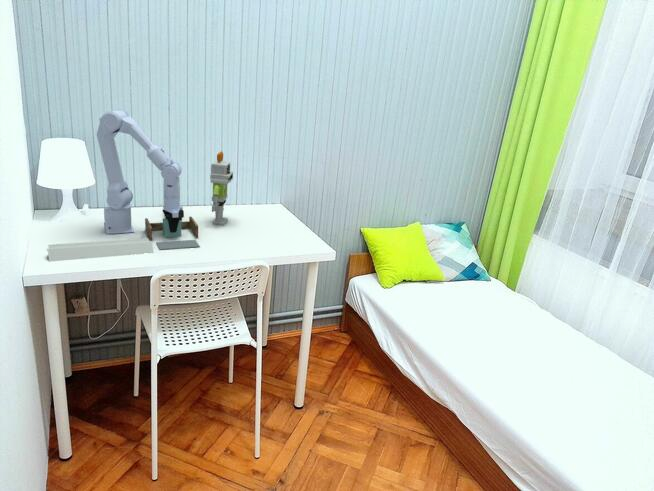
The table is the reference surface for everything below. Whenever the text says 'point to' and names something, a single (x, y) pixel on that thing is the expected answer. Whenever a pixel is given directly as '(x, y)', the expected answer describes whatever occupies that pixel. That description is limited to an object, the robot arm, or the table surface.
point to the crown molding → (99, 249)
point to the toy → (220, 187)
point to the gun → (181, 213)
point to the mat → (177, 244)
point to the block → (167, 231)
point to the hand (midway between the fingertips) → (171, 230)
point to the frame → (159, 227)
